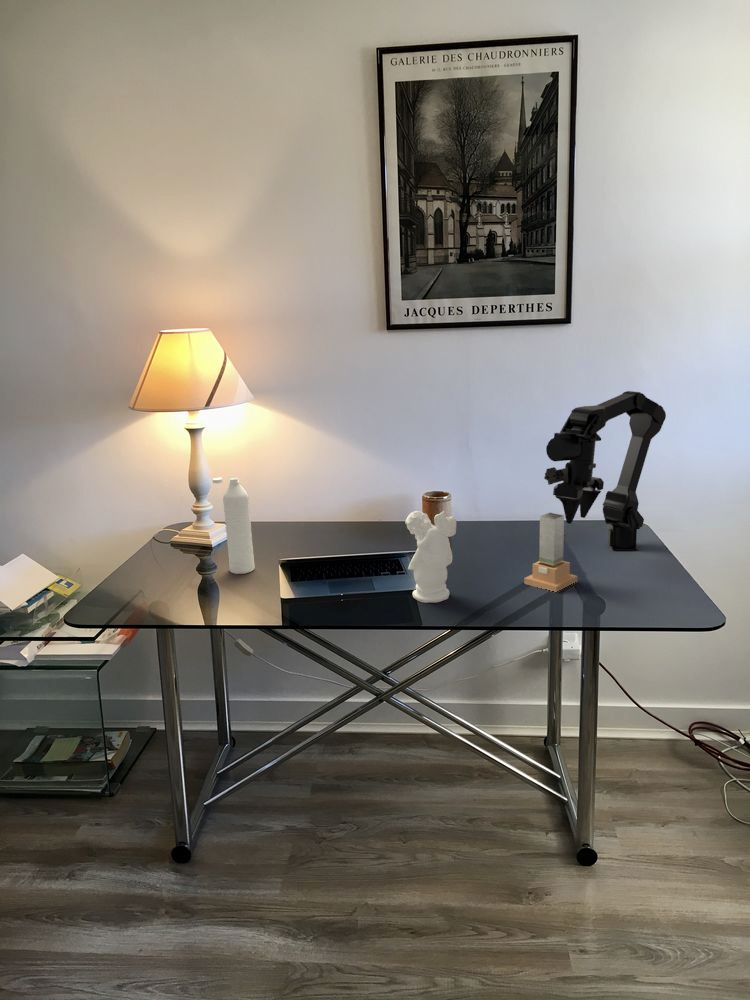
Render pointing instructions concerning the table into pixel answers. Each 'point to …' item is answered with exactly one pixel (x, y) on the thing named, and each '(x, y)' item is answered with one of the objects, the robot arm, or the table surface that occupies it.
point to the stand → (551, 576)
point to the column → (551, 538)
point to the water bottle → (238, 527)
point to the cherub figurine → (431, 555)
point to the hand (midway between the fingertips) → (576, 520)
